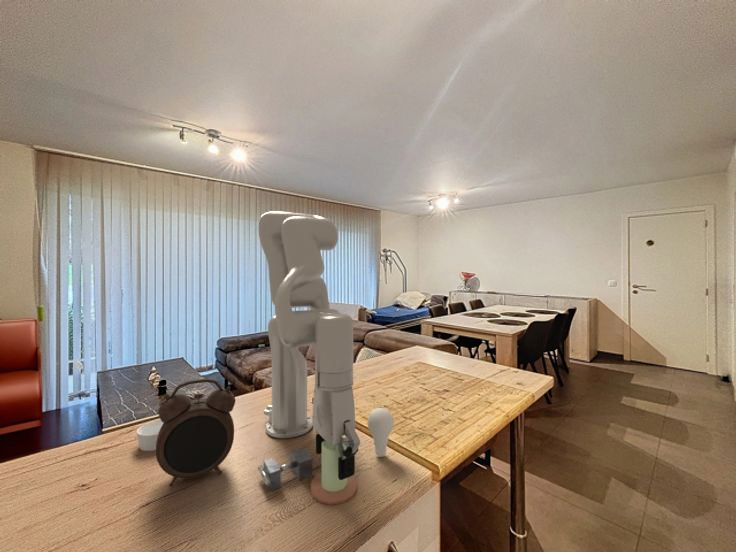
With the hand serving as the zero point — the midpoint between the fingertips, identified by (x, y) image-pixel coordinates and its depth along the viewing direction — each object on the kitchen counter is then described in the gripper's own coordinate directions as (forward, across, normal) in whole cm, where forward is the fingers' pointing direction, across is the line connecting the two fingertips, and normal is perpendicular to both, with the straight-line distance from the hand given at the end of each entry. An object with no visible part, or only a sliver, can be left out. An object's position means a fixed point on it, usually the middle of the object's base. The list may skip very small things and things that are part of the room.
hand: (334, 463), depth 62 cm
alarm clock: (+5, -19, -22) cm, 30 cm away
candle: (+4, 0, 0) cm, 4 cm away
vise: (+5, -9, -2) cm, 10 cm away
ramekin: (+5, -39, -29) cm, 49 cm away
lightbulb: (+5, -4, +14) cm, 15 cm away
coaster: (+5, 0, 0) cm, 5 cm away
